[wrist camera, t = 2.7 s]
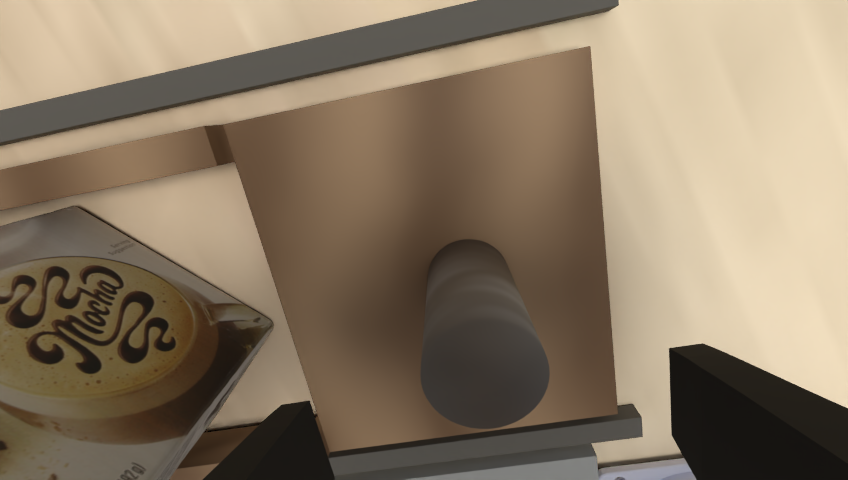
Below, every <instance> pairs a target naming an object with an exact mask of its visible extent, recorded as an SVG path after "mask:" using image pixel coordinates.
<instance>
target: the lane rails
mask: <svg viewBox="0 0 848 480" xmlns="http://www.w3.org/2000/svg"><path fill="white" fill-rule="evenodd" d="M618 5H619V3H618V0H477V1H473V2H469V3H464V4H460V5H456V6H451V7H447V8H443V9H438V10H434V11H430V12H425V13H421V14H417V15H412V16H408V17H404V18H399V19H395V20H391V21H386V22H382V23H378V24H373V25H369V26H365V27H360V28H356V29H352V30H347V31H343V32H339V33H334V34H330V35H326V36H321V37H317V38H313V39H308V40H304V41H300V42H295V43H291V44H287V45H282V46H278V47H273V48H269V49H265V50H260V51H256V52H252V53H247V54H243V55H239V56H234V57H230V58H226V59H221V60H217V61H213V62H208V63H204V64H200V65H195V66H191V67H187V68H182V69H178V70H174V71H169V72H165V73H161V74H156V75H152V76H148V77H143V78H139V79H135V80H130V81H126V82H122V83H117V84H113V85H109V86H104V87H100V88H96V89H91V90H87V91H82V92H78V93H74V94H69V95H65V96H61V97H56V98H52V99H48V100H43V101H39V102H35V103H30V104H26V105H22V106H17V107H13V108H9V109H4V110H0V146H1V145H5V144H10V143H15V142H19V141H24V140H28V139H33V138H37V137H42V136H46V135H51V134H55V133H60V132H64V131H69V130H73V129H78V128H82V127H87V126H91V125H96V124H100V123H105V122H109V121H114V120H118V119H123V118H127V117H132V116H136V115H141V114H146V113H150V112H155V111H159V110H164V109H168V108H173V107H177V106H182V105H186V104H191V103H195V102H200V101H204V100H209V99H213V98H218V97H222V96H227V95H231V94H236V93H240V92H245V91H249V90H254V89H258V88H263V87H267V86H272V85H277V84H281V83H286V82H290V81H295V80H299V79H304V78H308V77H313V76H317V75H322V74H326V73H331V72H335V71H340V70H344V69H349V68H353V67H358V66H362V65H367V64H371V63H376V62H380V61H385V60H389V59H394V58H398V57H403V56H408V55H412V54H417V53H421V52H426V51H430V50H435V49H439V48H444V47H448V46H453V45H457V44H462V43H466V42H471V41H475V40H480V39H484V38H489V37H493V36H498V35H502V34H507V33H511V32H516V31H520V30H525V29H529V28H534V27H539V26H543V25H548V24H552V23H557V22H561V21H566V20H570V19H575V18H579V17H584V16H588V15H593V14H597V13H602V12H606V11H609V10H611V9H613V8H614V7H616V6H618ZM617 408H618V414H614V415H607V416H599V417H592V418H584V419H576V420H569V421H561V422H554V423H546V424H539V425H531V426H523V427H516V428H508V429H501V430H493V431H485V432H478V433H470V434H463V435H455V436H448V437H440V438H432V439H425V440H417V441H410V442H402V443H394V444H387V445H379V446H372V447H364V448H356V449H349V450H341V451H334V452H330V453H329V456H328V459H329V462H330V465H331V468H332V471H333V474H334V476H335V475H343V474H351V473H359V472H367V471H375V470H383V469H391V468H399V467H407V466H415V465H423V464H430V463H438V462H446V461H454V460H462V459H470V458H478V457H486V456H494V455H502V454H510V453H518V452H526V451H534V450H541V449H549V448H557V447H565V446H573V445H581V444H589V443H597V442H605V441H613V440H621V439H629V438H637V437H643V436H642V418H641V416H640V414H639V413H638V411H637V410H636V408H635V407H634V405H633V404H631V405H624V406H617Z"/></svg>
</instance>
